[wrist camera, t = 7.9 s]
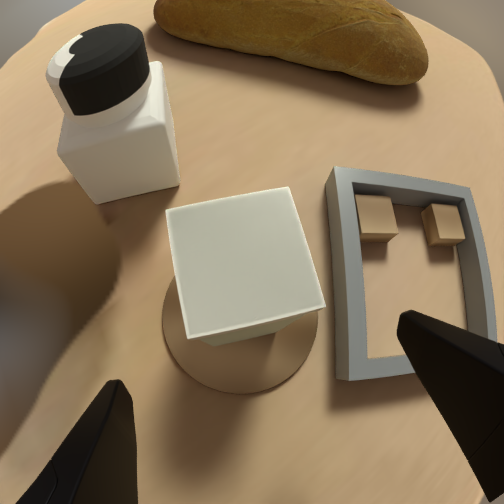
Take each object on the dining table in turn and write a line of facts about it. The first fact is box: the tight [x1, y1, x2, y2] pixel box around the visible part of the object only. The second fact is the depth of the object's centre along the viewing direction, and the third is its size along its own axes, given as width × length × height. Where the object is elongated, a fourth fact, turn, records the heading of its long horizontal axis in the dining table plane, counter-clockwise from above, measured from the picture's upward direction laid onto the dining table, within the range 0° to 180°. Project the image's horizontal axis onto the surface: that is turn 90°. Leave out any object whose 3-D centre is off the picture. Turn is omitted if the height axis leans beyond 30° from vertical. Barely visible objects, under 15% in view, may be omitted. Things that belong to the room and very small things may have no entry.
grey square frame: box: [325, 166, 497, 381], centre depth 20 cm, size 14×13×2 cm
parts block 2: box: [421, 203, 465, 246], centre depth 22 cm, size 3×3×2 cm
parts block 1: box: [354, 195, 398, 242], centre depth 22 cm, size 3×3×2 cm
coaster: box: [163, 276, 318, 394], centre depth 19 cm, size 10×10×1 cm
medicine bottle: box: [46, 23, 180, 204], centre depth 17 cm, size 7×7×12 cm
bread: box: [154, 0, 428, 85], centre depth 27 cm, size 18×35×10 cm, turn 72°
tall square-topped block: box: [165, 186, 326, 346], centre depth 14 cm, size 4×4×10 cm
